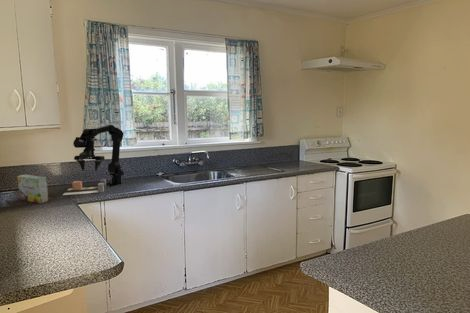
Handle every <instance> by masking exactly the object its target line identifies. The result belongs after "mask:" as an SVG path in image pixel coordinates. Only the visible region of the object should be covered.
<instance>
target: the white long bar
mask: <svg viewBox="0 0 470 313" xmlns="http://www.w3.org/2000/svg"><path fill="white" fill-rule="evenodd" d="M97 187H98V188H97V190H87V191H86V190H85V191H73V192H64V193H63V194H62V196H68V195H72V196H73V195H83V194H84V195H85V194H97V193H103V192H104V191H105V188H104V183H100V182H99V183H97Z"/></svg>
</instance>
